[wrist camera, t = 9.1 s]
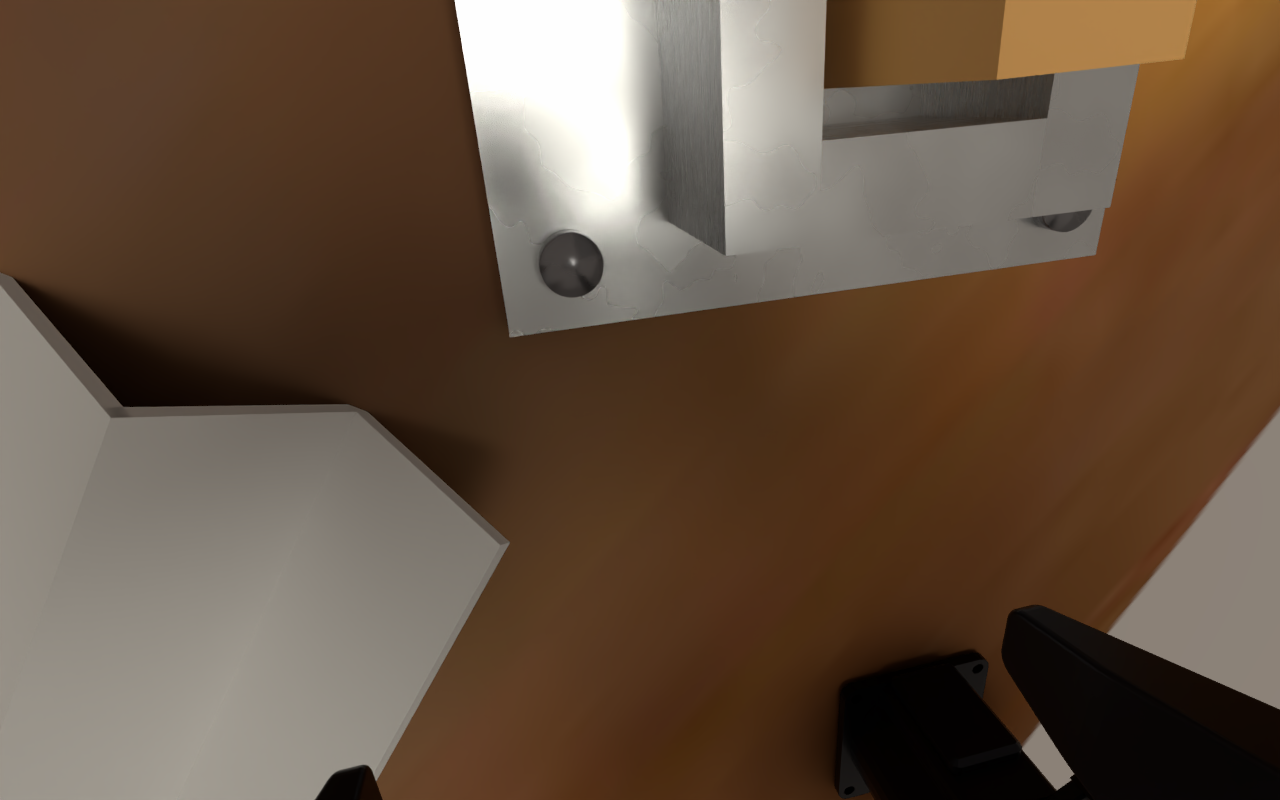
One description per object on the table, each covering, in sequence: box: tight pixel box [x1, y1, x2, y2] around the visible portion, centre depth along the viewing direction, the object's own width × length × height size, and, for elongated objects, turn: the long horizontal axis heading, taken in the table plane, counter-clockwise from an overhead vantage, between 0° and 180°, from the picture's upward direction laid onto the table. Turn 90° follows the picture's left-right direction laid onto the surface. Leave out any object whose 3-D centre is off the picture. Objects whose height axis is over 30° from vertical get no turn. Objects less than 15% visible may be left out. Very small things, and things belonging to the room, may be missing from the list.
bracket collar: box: [455, 0, 1140, 337], centre depth 15 cm, size 14×18×6 cm
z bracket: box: [0, 273, 510, 800], centre depth 19 cm, size 12×25×6 cm
